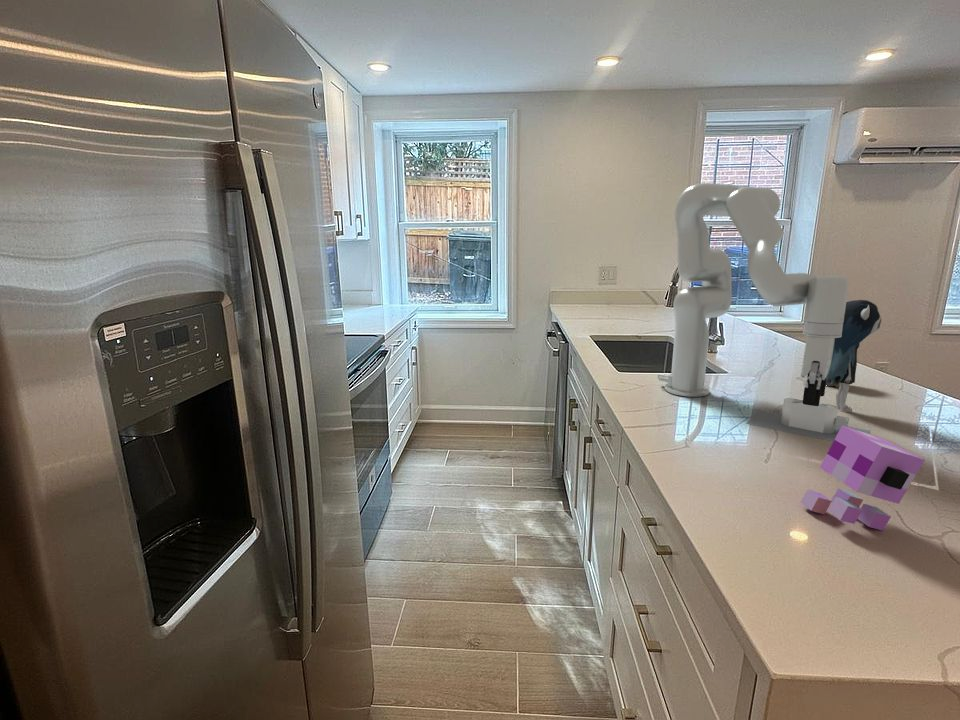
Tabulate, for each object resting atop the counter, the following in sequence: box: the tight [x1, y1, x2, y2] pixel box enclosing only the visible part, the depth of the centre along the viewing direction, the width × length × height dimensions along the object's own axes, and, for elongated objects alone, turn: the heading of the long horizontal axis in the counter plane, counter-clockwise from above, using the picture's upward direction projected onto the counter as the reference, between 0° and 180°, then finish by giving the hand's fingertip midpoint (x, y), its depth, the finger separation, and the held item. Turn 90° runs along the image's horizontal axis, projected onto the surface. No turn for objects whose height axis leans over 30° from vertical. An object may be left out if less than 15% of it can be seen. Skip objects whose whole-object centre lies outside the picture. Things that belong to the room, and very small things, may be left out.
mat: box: [746, 409, 870, 442], centre depth 123 cm, size 24×13×1 cm, turn 50°
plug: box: [781, 397, 850, 433], centre depth 121 cm, size 13×4×6 cm, turn 51°
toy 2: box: [800, 426, 925, 531], centre depth 82 cm, size 11×8×15 cm
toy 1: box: [826, 299, 882, 413], centre depth 131 cm, size 14×11×30 cm
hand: (813, 400), depth 120 cm, fingers open, 9 cm apart
